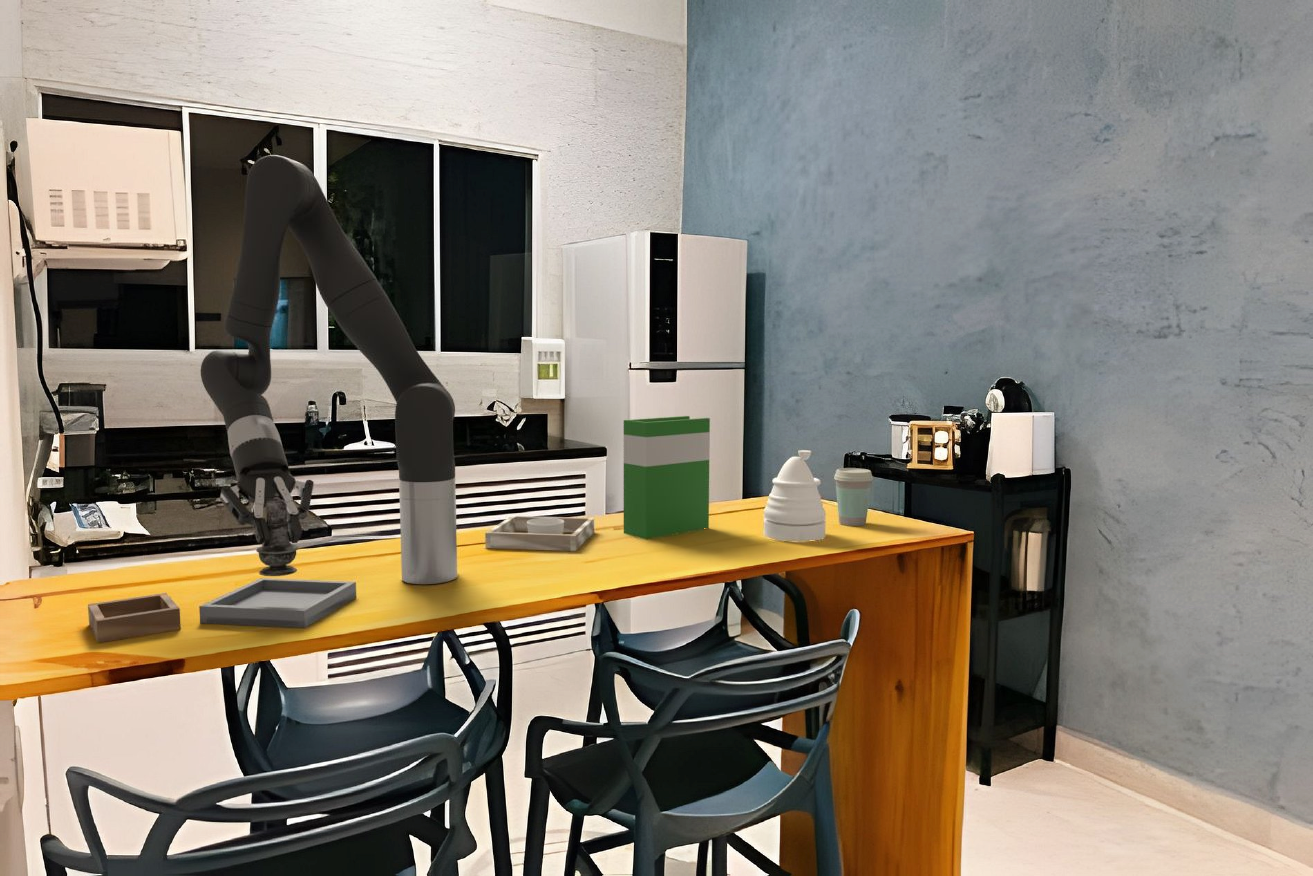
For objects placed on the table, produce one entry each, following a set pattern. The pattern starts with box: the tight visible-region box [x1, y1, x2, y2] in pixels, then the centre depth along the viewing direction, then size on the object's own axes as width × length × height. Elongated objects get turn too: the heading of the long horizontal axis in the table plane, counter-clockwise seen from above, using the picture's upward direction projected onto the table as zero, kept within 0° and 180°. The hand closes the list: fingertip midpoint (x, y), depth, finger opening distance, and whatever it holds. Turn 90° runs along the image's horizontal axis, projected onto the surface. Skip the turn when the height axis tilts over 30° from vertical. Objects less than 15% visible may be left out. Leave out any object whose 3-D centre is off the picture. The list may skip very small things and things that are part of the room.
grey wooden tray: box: [484, 515, 595, 552], centre depth 190 cm, size 18×18×3 cm
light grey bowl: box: [527, 518, 564, 534], centre depth 187 cm, size 10×10×5 cm
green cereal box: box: [623, 415, 711, 540], centre depth 199 cm, size 18×7×24 cm, turn 130°
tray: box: [198, 577, 357, 629], centre depth 140 cm, size 16×16×2 cm
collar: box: [87, 592, 182, 644], centre depth 132 cm, size 10×10×3 cm
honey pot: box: [762, 449, 826, 541], centre depth 194 cm, size 13×13×18 cm
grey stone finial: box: [256, 493, 299, 577], centre depth 139 cm, size 6×6×12 cm
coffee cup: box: [833, 467, 874, 527], centre depth 208 cm, size 8×9×12 cm
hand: (281, 541), depth 138 cm, fingers closed on grey stone finial, 3 cm apart
